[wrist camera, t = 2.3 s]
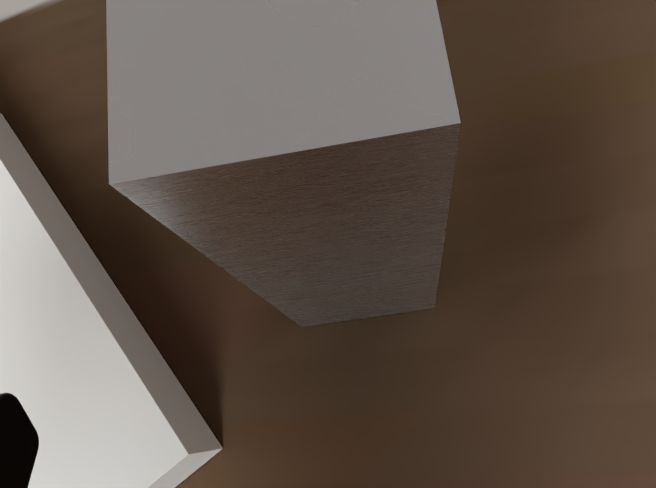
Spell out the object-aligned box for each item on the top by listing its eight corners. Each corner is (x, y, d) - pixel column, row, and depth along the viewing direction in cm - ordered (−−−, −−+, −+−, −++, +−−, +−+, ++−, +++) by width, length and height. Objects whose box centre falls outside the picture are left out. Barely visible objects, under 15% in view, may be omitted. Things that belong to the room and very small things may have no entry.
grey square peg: (434, 308, 19) (460, 123, 7) (301, 327, 20) (108, 184, 8) (413, 183, 21) (403, -159, 8) (288, 203, 21) (104, -92, 9)
